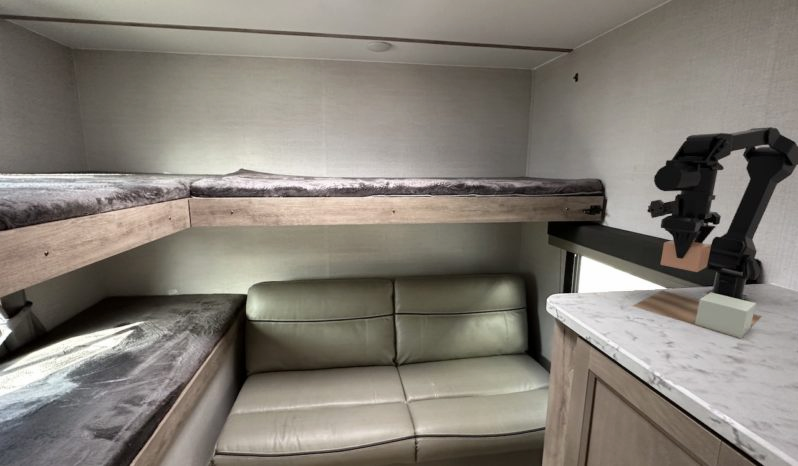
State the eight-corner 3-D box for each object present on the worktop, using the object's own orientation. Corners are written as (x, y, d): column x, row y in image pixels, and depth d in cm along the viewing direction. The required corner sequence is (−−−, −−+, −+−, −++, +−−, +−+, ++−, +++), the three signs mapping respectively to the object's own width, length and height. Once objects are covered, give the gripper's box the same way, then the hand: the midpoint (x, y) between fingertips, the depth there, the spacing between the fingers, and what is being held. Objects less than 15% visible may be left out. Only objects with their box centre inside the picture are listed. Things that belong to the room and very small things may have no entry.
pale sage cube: (705, 316, 75) (710, 292, 74) (750, 328, 70) (755, 303, 69) (694, 324, 72) (699, 299, 70) (740, 338, 66) (747, 311, 65)
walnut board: (661, 293, 91) (662, 290, 91) (761, 320, 76) (762, 316, 76) (631, 309, 81) (632, 305, 80) (739, 343, 66) (740, 338, 66)
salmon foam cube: (671, 260, 87) (675, 239, 86) (706, 266, 82) (711, 244, 81) (660, 264, 84) (664, 242, 82) (696, 272, 78) (701, 248, 77)
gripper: (670, 186, 91) (661, 244, 94) (639, 189, 80) (630, 254, 83) (726, 189, 82) (714, 252, 85) (700, 193, 71) (687, 265, 74)
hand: (685, 255), depth 82 cm, fingers closed on salmon foam cube, 7 cm apart
